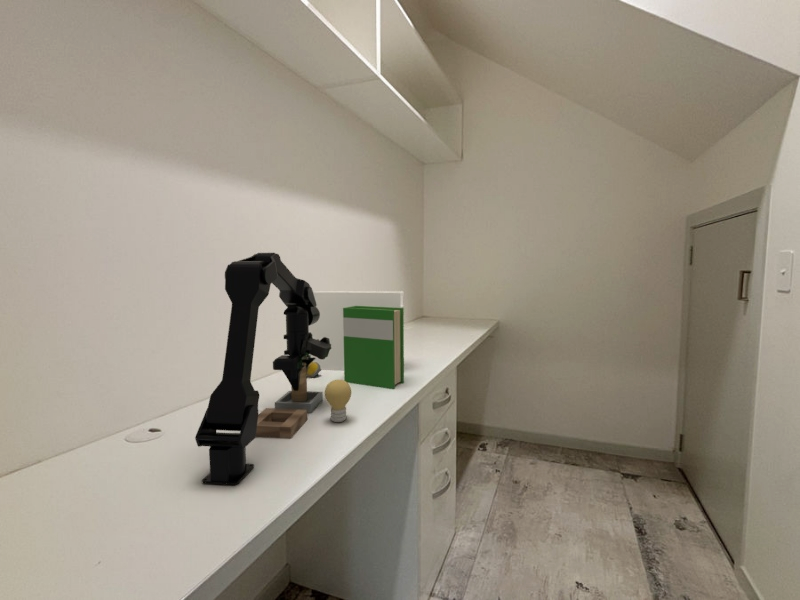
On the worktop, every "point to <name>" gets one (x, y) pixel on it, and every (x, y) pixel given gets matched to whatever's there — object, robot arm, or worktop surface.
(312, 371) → the ice cream cone
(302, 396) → the dowel
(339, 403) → the light bulb
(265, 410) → the square wooden frame
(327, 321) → the white flat rectangular panel
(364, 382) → the hardback book
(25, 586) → the worktop surface
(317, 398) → the tray
